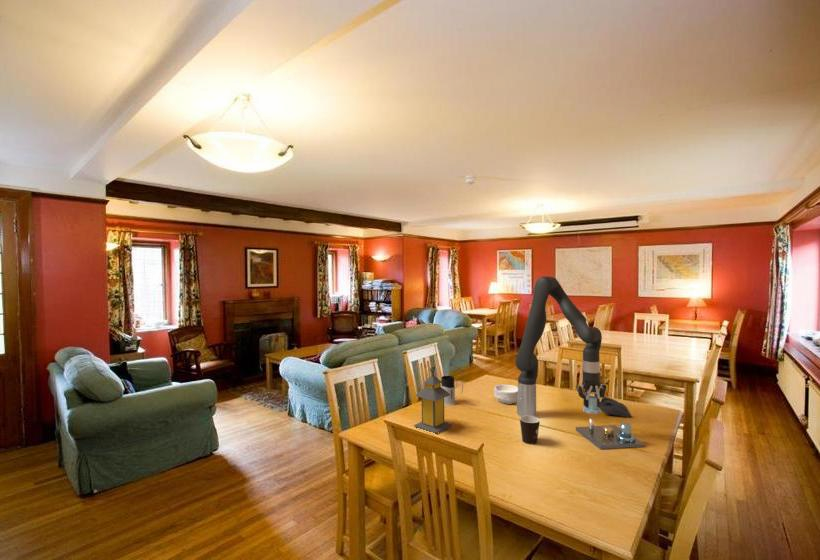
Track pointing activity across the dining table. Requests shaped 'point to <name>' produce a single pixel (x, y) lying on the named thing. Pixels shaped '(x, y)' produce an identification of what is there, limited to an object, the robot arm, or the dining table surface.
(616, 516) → the dining table surface
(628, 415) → the dark slate chunk
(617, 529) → the dining table surface
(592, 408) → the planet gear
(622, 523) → the dining table surface
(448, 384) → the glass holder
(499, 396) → the paper bowls
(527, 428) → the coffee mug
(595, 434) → the gear carrier
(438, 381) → the lantern
